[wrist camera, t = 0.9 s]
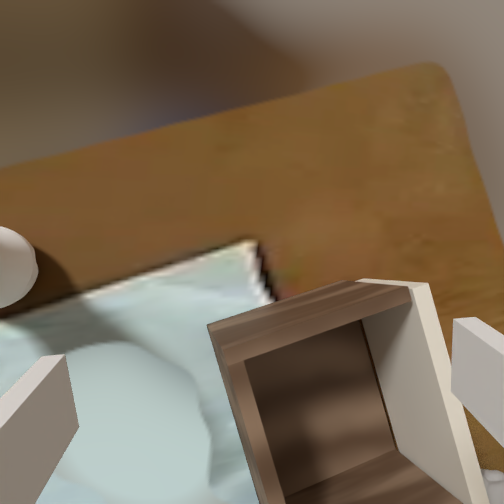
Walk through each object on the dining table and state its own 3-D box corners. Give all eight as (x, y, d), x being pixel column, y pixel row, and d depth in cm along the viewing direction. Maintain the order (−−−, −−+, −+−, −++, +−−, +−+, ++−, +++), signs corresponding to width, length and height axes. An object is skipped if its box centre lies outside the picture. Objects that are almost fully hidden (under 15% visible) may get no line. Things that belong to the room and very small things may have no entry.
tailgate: (412, 450, 44) (491, 510, 33) (400, 455, 44) (476, 518, 33) (363, 278, 43) (428, 283, 33) (350, 282, 43) (412, 288, 32)
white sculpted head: (497, 504, 48) (552, 544, 41) (444, 514, 46) (492, 558, 39) (493, 451, 48) (548, 483, 41) (441, 460, 46) (488, 494, 40)
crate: (391, 453, 45) (474, 523, 33) (261, 509, 42) (300, 610, 30) (341, 280, 44) (407, 286, 32) (206, 324, 41) (223, 350, 29)
